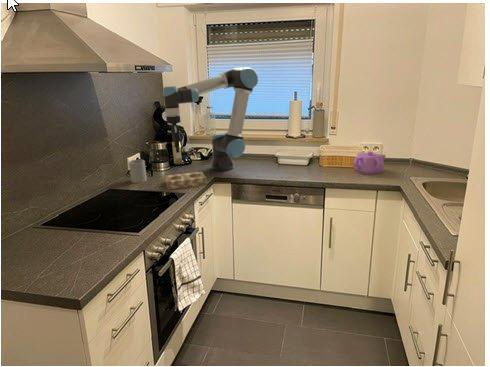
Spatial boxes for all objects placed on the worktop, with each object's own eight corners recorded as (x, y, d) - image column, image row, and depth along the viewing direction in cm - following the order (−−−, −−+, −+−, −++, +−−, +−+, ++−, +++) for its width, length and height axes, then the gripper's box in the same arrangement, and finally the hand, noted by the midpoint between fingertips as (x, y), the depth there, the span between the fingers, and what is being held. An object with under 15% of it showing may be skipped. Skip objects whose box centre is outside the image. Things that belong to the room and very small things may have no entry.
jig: (202, 177, 213) (201, 171, 212) (206, 184, 200) (206, 177, 199) (165, 182, 207) (165, 175, 206) (168, 189, 194) (167, 182, 193)
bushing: (181, 161, 203) (179, 141, 199) (182, 163, 199) (180, 142, 195) (174, 162, 201) (171, 142, 198) (174, 164, 197) (172, 143, 194)
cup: (141, 183, 206) (138, 163, 203) (128, 182, 209) (125, 163, 205) (149, 178, 215) (147, 159, 211) (136, 178, 217) (134, 159, 214)
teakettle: (352, 173, 211) (353, 153, 208) (356, 166, 226) (357, 148, 222) (382, 176, 204) (384, 156, 201) (384, 169, 219) (386, 149, 215)
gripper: (164, 114, 198) (169, 154, 206) (167, 118, 182) (172, 161, 190) (178, 113, 200) (182, 152, 208) (181, 116, 184) (186, 159, 192)
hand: (177, 156), depth 199 cm, fingers closed on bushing, 4 cm apart
